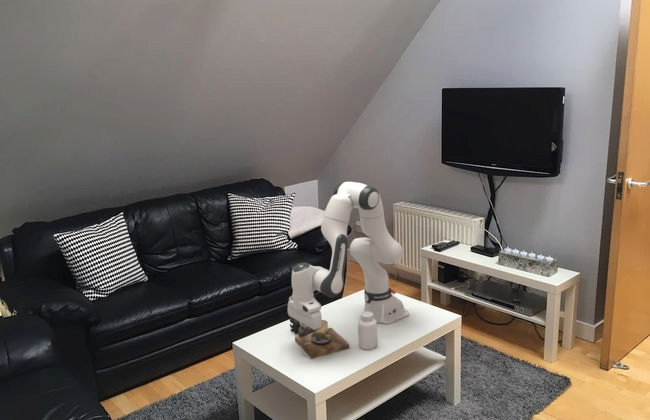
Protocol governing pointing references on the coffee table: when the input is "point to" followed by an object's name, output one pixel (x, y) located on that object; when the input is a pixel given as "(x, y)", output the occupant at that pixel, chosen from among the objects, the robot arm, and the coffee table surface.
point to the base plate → (320, 350)
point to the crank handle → (315, 331)
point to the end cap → (295, 325)
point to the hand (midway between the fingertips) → (304, 331)
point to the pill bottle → (367, 331)
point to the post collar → (321, 340)
